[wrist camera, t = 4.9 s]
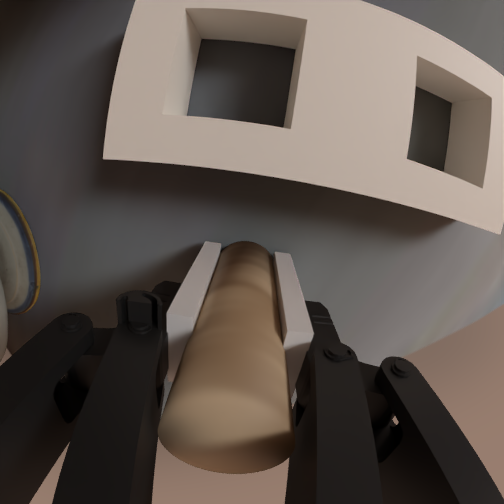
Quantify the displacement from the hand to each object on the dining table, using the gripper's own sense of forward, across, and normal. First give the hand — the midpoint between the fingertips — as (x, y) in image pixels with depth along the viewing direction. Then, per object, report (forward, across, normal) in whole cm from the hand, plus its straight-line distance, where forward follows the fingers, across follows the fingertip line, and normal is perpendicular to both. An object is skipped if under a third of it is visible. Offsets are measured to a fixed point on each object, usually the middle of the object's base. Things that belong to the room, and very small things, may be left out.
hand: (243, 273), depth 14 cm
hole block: (+1, +3, +9) cm, 10 cm away
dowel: (+1, 0, 0) cm, 1 cm away
